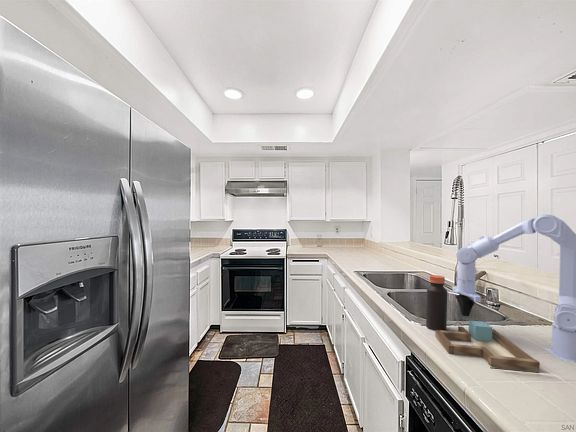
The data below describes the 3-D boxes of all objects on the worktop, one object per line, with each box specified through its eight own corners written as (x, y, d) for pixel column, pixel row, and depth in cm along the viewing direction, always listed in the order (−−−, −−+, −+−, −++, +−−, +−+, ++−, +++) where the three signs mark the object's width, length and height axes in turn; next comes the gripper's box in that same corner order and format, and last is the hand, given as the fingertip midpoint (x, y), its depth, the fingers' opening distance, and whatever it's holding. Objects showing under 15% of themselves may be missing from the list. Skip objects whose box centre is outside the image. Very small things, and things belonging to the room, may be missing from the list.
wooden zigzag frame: (494, 337, 100) (494, 329, 100) (539, 373, 77) (539, 362, 77) (430, 332, 103) (430, 324, 103) (456, 365, 81) (456, 354, 81)
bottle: (448, 329, 106) (449, 276, 106) (443, 334, 101) (444, 279, 101) (429, 324, 111) (430, 273, 111) (423, 329, 106) (424, 276, 106)
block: (484, 335, 100) (484, 321, 100) (491, 342, 95) (492, 327, 95) (468, 334, 101) (469, 320, 100) (475, 340, 96) (475, 326, 96)
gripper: (445, 274, 113) (444, 308, 113) (466, 284, 99) (465, 322, 99) (463, 275, 113) (462, 309, 113) (487, 284, 98) (486, 323, 99)
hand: (465, 315), depth 106 cm, fingers closed
